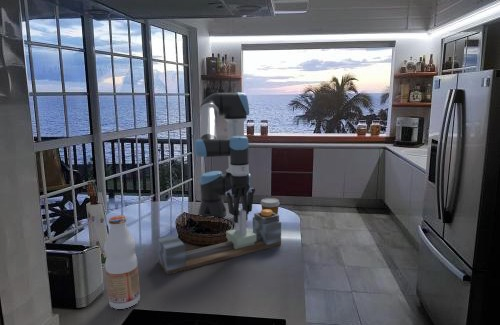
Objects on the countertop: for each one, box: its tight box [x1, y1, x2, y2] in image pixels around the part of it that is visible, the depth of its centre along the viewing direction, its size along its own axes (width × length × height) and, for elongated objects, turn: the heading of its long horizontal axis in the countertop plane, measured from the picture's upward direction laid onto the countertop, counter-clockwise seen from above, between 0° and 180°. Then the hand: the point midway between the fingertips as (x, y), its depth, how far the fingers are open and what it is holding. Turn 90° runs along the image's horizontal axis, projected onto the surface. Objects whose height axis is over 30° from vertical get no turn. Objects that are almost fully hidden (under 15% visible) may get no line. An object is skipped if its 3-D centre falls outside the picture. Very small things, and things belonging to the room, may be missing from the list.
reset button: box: [260, 209, 272, 218], centre depth 157 cm, size 5×5×2 cm
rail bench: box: [156, 211, 282, 275], centre depth 148 cm, size 12×50×12 cm, turn 120°
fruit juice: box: [103, 215, 141, 310], centre depth 112 cm, size 9×9×28 cm
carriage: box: [225, 206, 256, 249], centre depth 151 cm, size 10×9×15 cm
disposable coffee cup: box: [260, 197, 281, 215], centre depth 180 cm, size 10×10×12 cm
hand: (240, 228), depth 152 cm, fingers closed on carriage, 2 cm apart
